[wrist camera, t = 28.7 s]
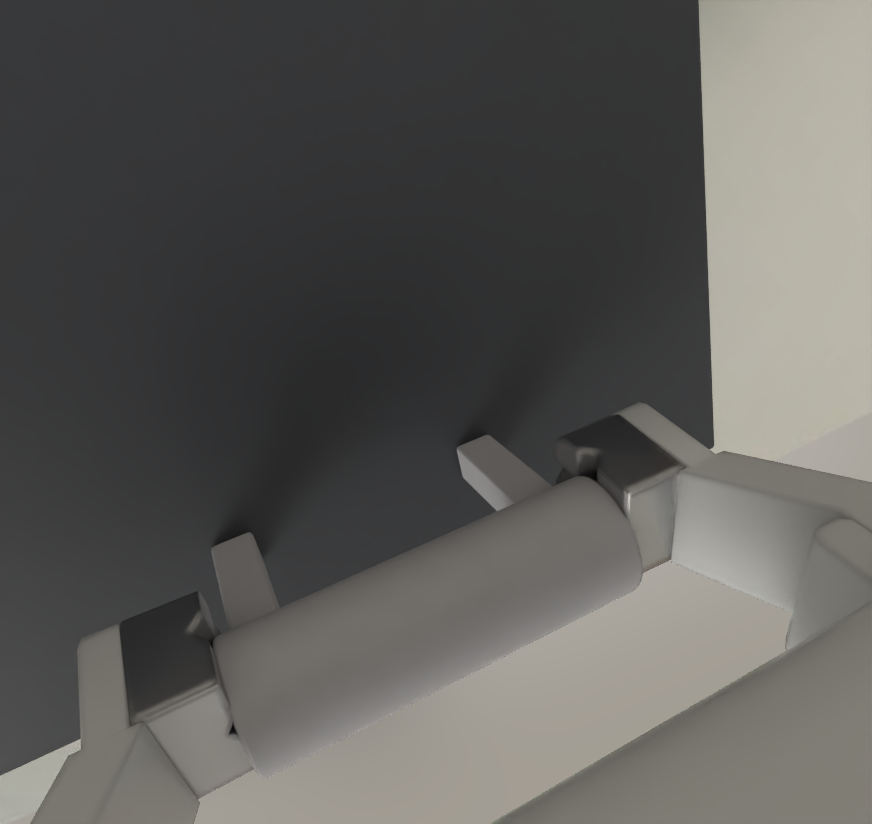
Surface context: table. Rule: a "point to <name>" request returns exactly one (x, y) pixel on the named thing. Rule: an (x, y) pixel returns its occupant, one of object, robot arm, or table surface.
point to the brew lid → (332, 334)
